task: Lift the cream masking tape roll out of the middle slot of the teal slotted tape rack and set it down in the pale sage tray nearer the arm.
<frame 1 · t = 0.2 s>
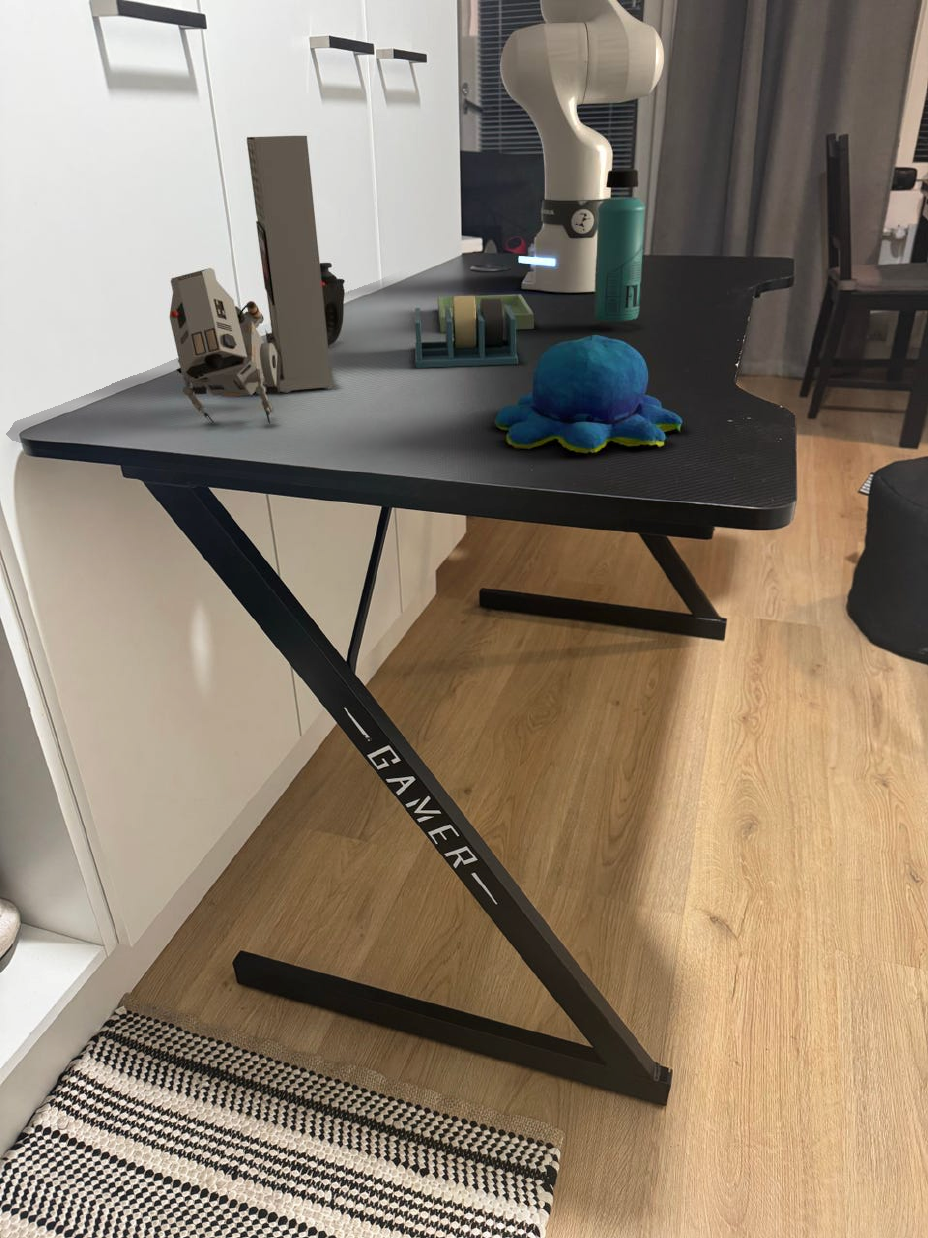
tape rack: (464, 355, 112), on the table
figurine: (239, 396, 94), point 1 cm above the table
plush toy: (586, 429, 84), on the table
masking tape: (464, 323, 110), point 4 cm above the table, touching tape rack
beverage bottle: (615, 328, 125), on the table
tall beige panel: (300, 378, 104), on the table
tray: (483, 318, 133), on the table
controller: (320, 347, 119), on the table
vinyl tape: (491, 323, 110), point 4 cm above the table, touching tape rack
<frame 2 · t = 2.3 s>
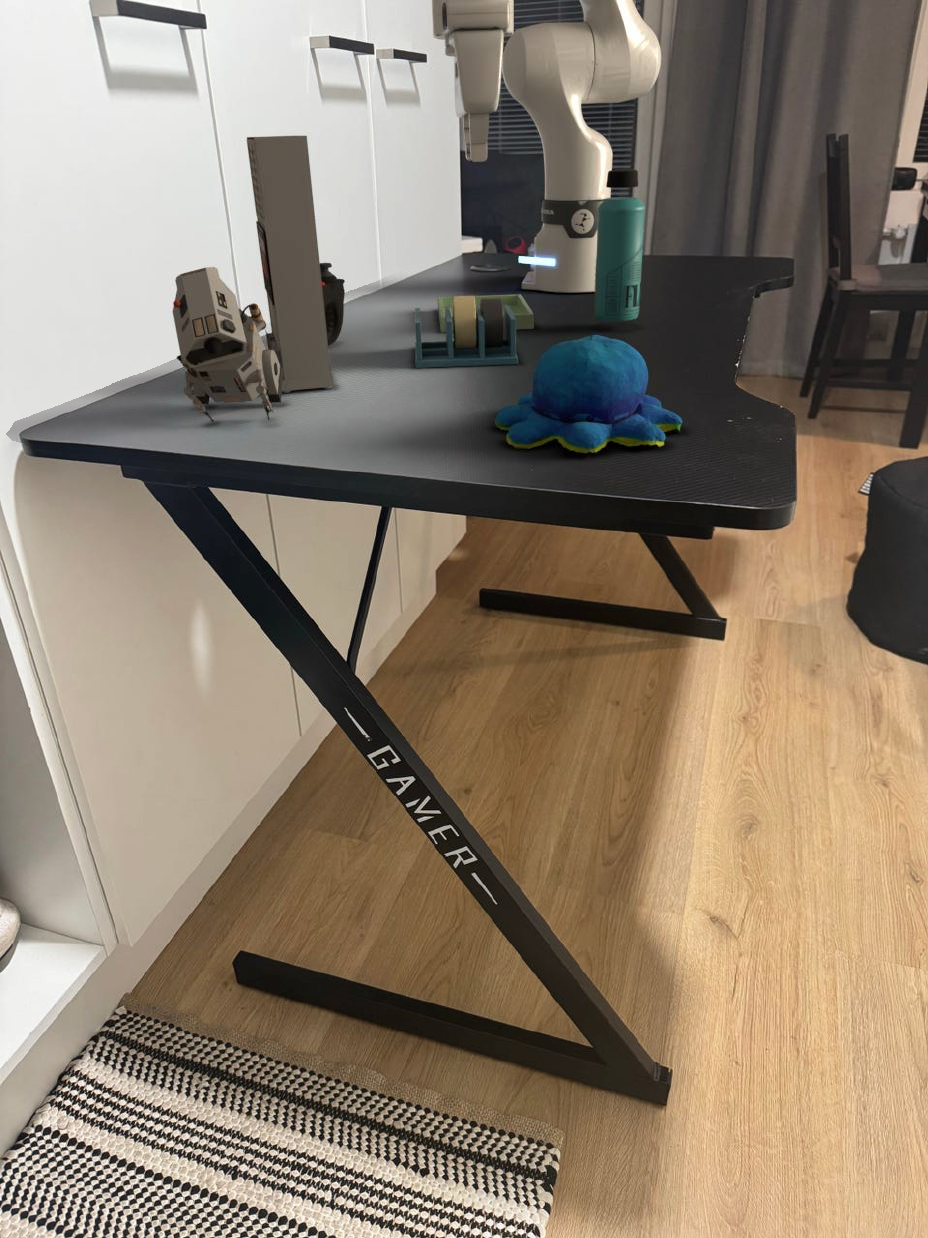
hand: (476, 161, 102), 22 cm above the table, tool pointing down, fingers open, 8 cm apart
figurine: (241, 406, 94), on the table
everything else where it was.
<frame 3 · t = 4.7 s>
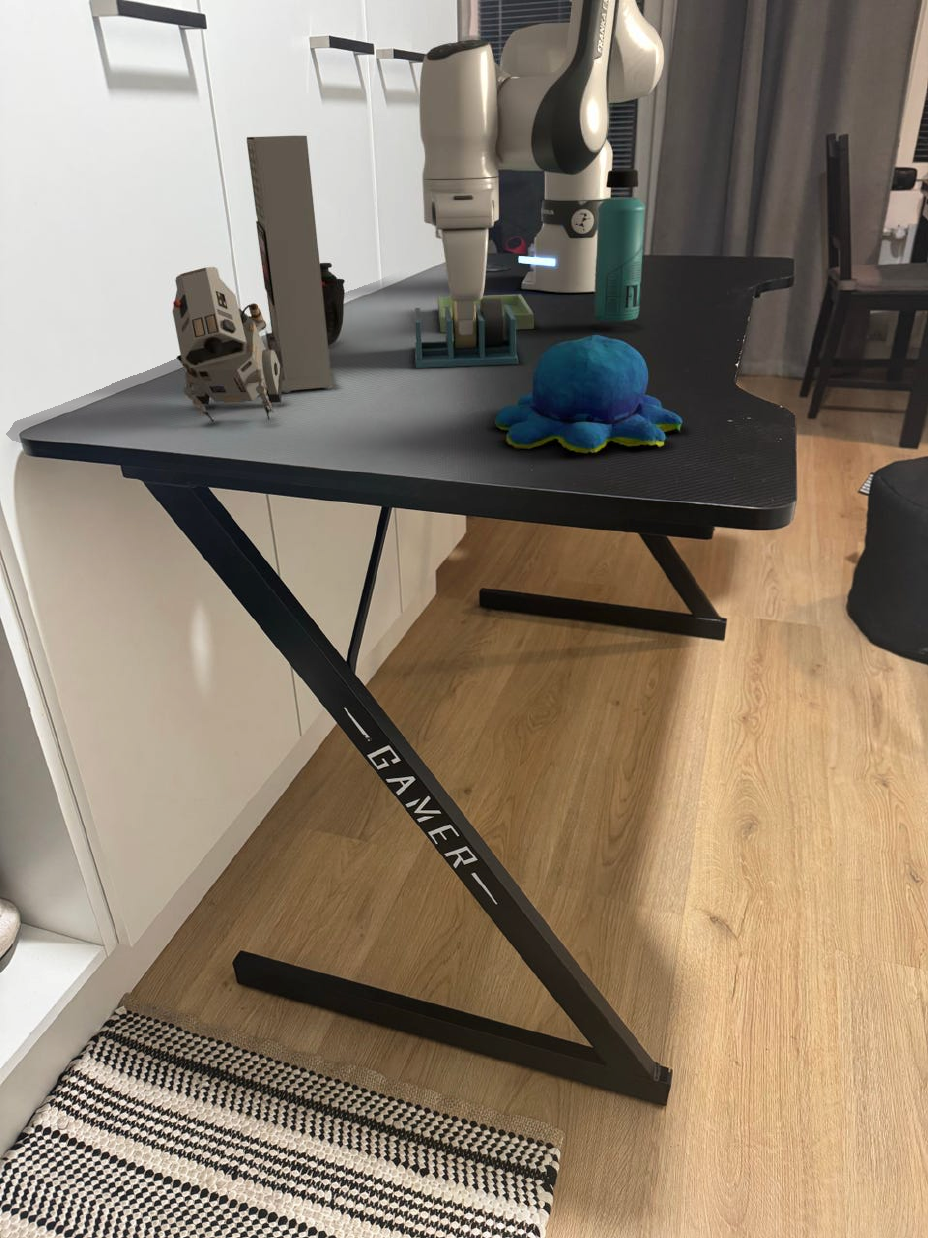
hand: (464, 327, 110), 3 cm above the table, tool pointing down, fingers closed on masking tape, 6 cm apart
masking tape: (464, 323, 110), point 4 cm above the table, touching gripper, tape rack
everything else where it was.
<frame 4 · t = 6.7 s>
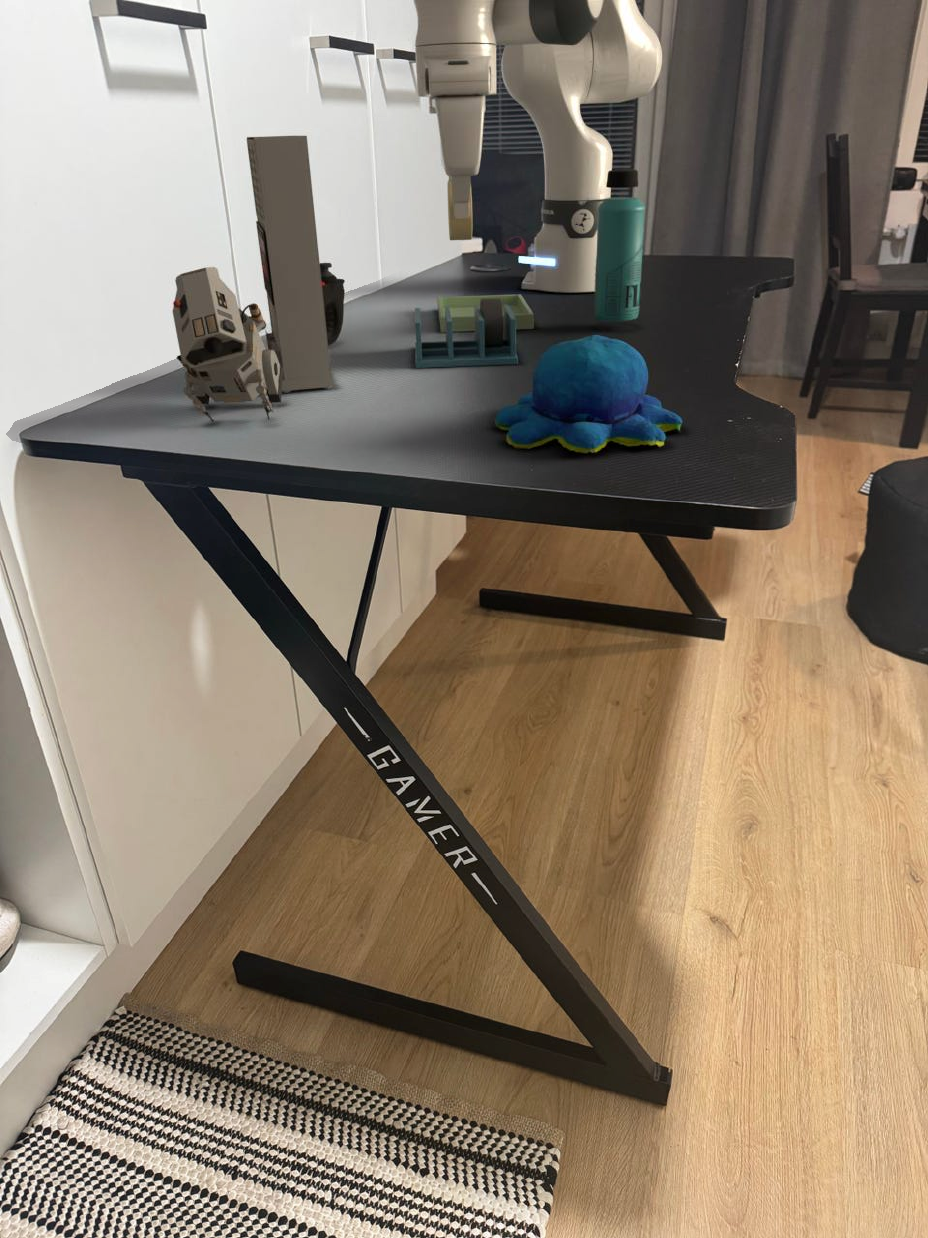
hand: (459, 214, 104), 16 cm above the table, tool pointing down, fingers closed on masking tape, 6 cm apart
masking tape: (459, 210, 104), point 17 cm above the table, touching gripper
everything else where it was.
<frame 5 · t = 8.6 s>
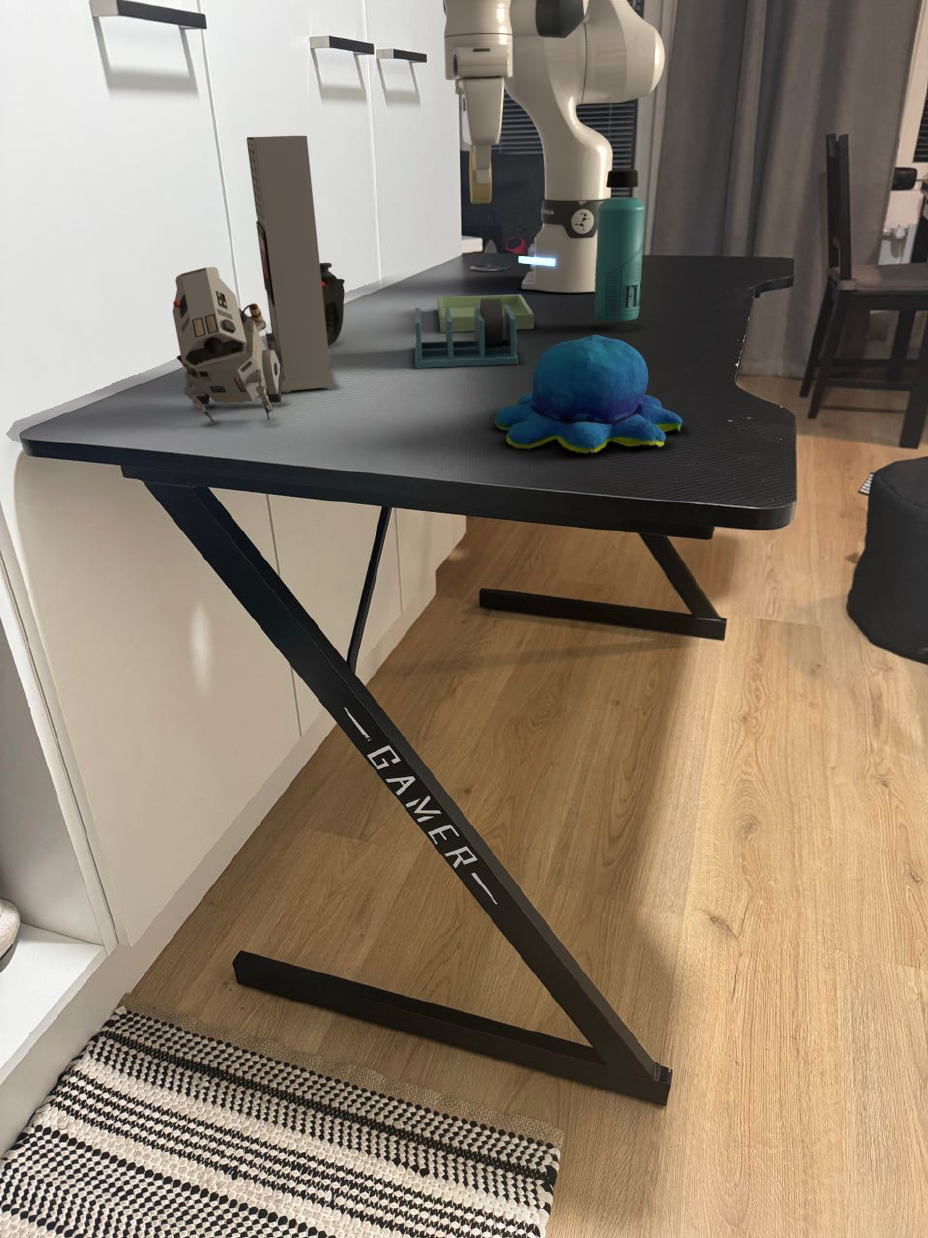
hand: (480, 181, 122), 19 cm above the table, tool pointing down, fingers closed on masking tape, 6 cm apart
masking tape: (480, 177, 121), point 19 cm above the table, touching gripper
everything else where it was.
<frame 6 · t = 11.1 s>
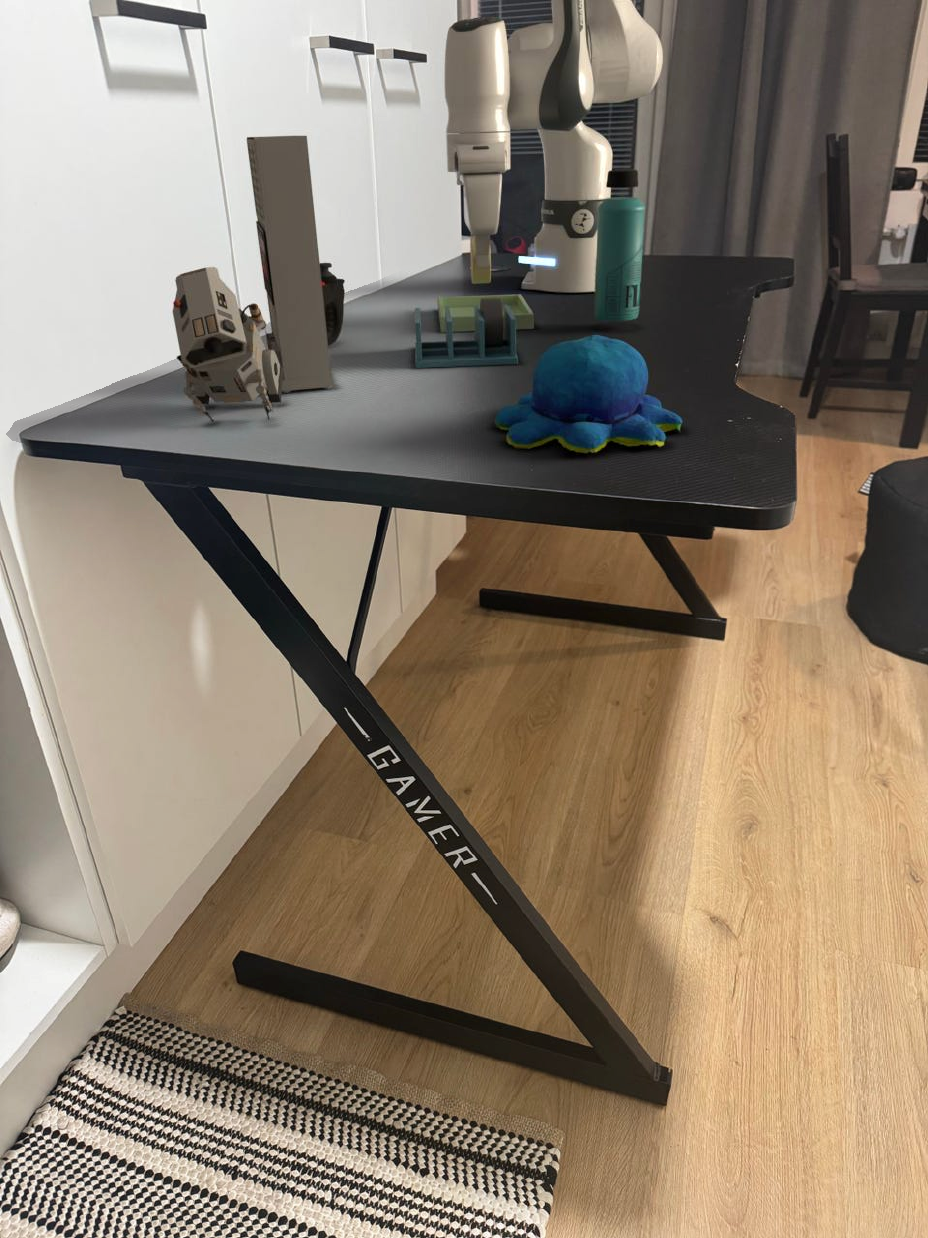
hand: (480, 263, 129), 8 cm above the table, tool pointing down, fingers closed on masking tape, 6 cm apart
masking tape: (480, 259, 129), point 8 cm above the table, touching gripper
everything else where it was.
when the fingers open (3 cm above the table, at t = 12.8 s): masking tape moves 1 cm, resting on tray.
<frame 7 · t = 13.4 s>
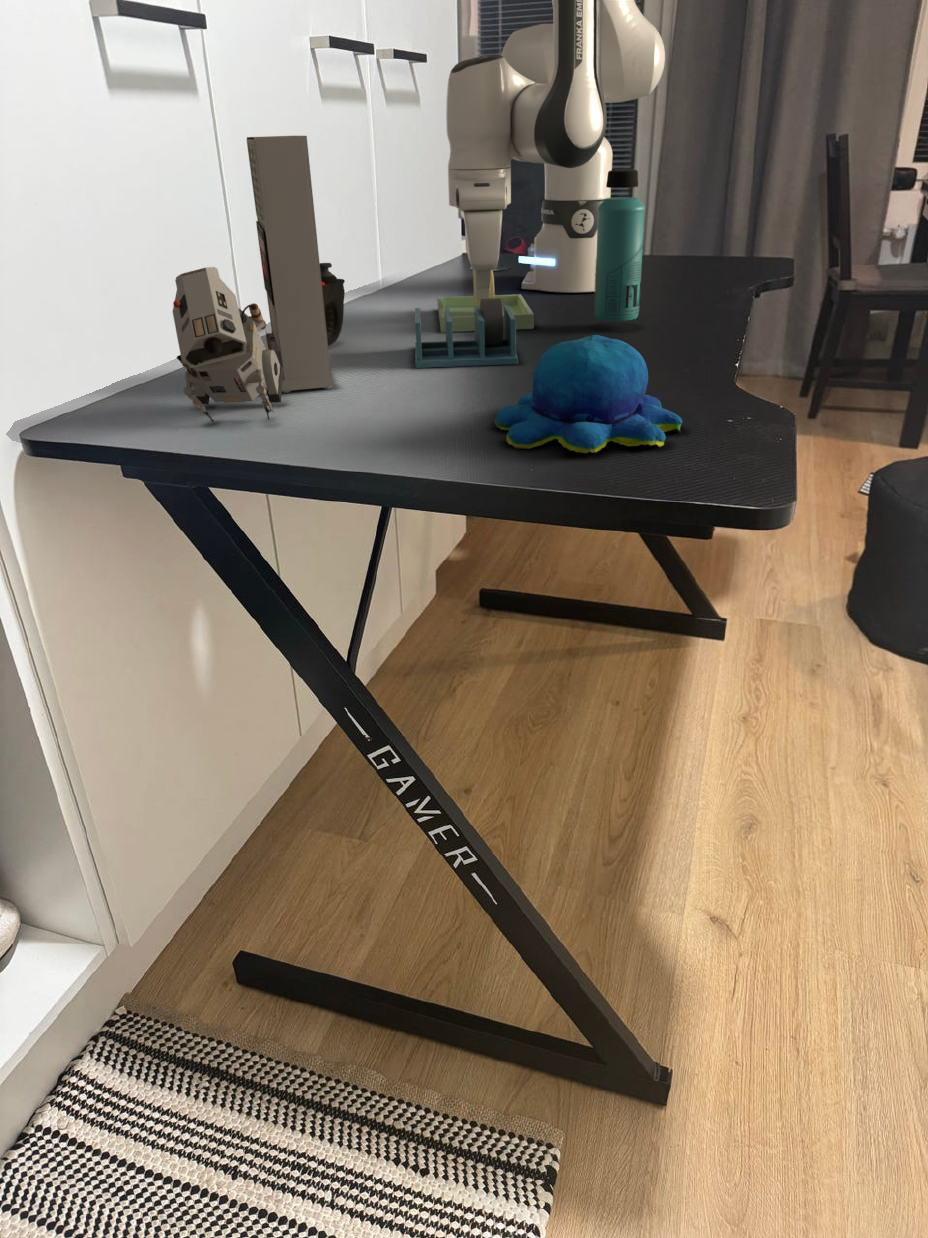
hand: (481, 294, 131), 3 cm above the table, tool pointing down, fingers open, 8 cm apart
masking tape: (483, 291, 132), point 4 cm above the table, tilted 21°, touching tray
everything else where it was.
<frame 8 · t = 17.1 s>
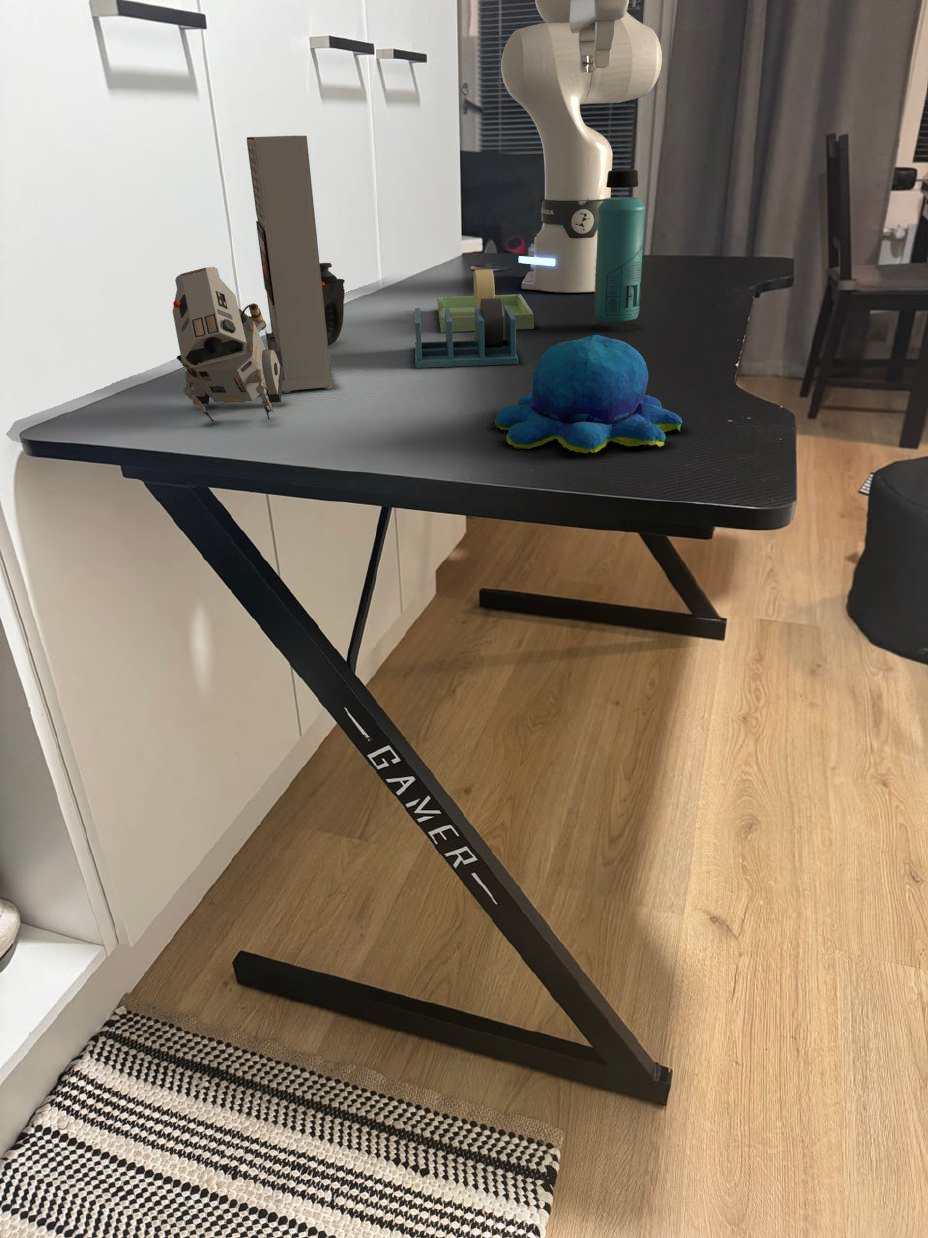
hand: (594, 70, 111), 31 cm above the table, tool pointing down, fingers open, 8 cm apart
masking tape: (483, 292, 131), point 4 cm above the table, tilted 13°, touching tray
everything else where it was.
at the end: masking tape inside the target area on the tray (0.6 cm from its centre), point 3.7 cm above the tray's base; masking tape touching tray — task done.
